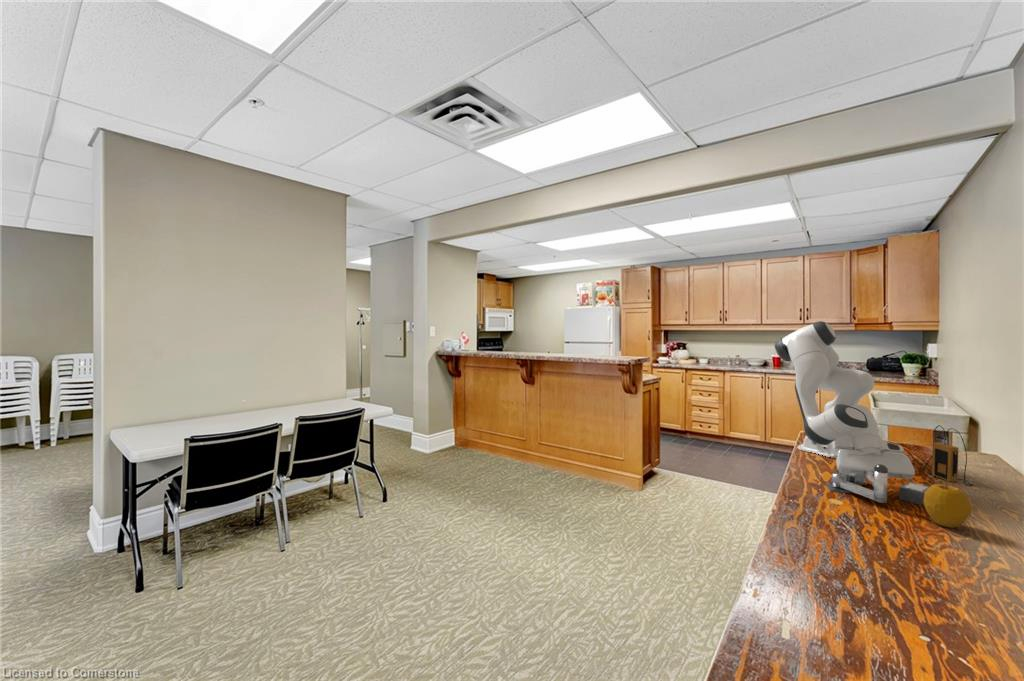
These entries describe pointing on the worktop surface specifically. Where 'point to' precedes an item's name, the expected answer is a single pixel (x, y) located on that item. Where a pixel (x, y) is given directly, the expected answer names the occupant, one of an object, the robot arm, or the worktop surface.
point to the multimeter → (946, 460)
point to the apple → (947, 505)
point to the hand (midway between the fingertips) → (879, 486)
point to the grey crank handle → (876, 495)
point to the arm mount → (837, 489)
